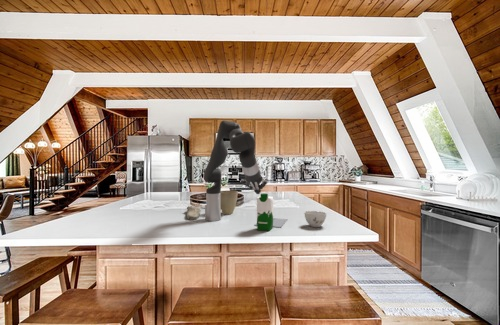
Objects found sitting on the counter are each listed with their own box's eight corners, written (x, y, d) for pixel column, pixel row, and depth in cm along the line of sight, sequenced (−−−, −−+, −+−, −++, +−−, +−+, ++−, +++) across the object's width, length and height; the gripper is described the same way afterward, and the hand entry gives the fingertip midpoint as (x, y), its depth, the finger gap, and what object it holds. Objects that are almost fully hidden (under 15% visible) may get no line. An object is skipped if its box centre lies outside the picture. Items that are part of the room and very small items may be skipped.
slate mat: (254, 225, 155) (254, 225, 155) (263, 218, 176) (263, 217, 176) (281, 227, 150) (281, 227, 150) (287, 219, 171) (287, 219, 171)
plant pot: (214, 215, 185) (215, 192, 185) (220, 211, 200) (220, 190, 200) (235, 215, 183) (235, 193, 183) (239, 211, 198) (239, 190, 198)
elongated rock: (184, 223, 168) (200, 223, 170) (184, 214, 168) (200, 215, 170) (187, 210, 203) (200, 210, 205) (187, 203, 203) (200, 203, 204)
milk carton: (255, 230, 144) (255, 194, 144) (260, 226, 153) (260, 192, 153) (270, 231, 141) (270, 194, 141) (274, 227, 150) (274, 192, 150)
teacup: (328, 229, 147) (328, 214, 147) (305, 228, 148) (305, 214, 148) (323, 222, 162) (323, 209, 162) (302, 222, 163) (302, 209, 163)
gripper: (266, 163, 123) (272, 187, 134) (239, 163, 127) (247, 186, 138) (263, 175, 118) (269, 199, 129) (235, 175, 122) (244, 198, 133)
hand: (258, 192), depth 134 cm, fingers closed
